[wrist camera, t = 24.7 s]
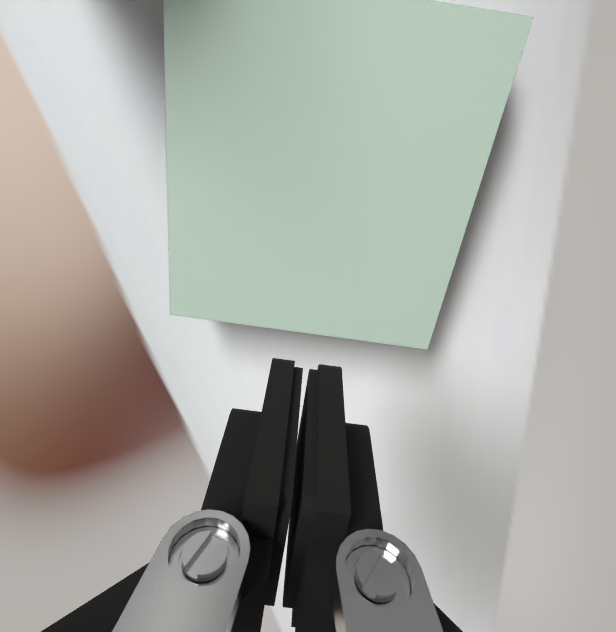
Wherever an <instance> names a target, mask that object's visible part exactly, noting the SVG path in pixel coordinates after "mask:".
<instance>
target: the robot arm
mask: <svg viewBox="0 0 616 632" xmlns="http://www.w3.org/2000/svg"><path fill="white" fill-rule="evenodd" d="M294 363H295V361H291V360H283V359H276V358H273V359H272V364H271V369H270V374H269V379H268V384H267V389H266V394H265V399H264V404H263V409H262V412H257V411H249V410H241V409H234V408H233V409H232V410H231V413H230V416H229V419H228V422H227V426H226V429H225V432H224V436H223V439H222V442H221V446H220V449H219V452H218V456H217V459H216V462H215V466H214V469H213V472H212V475H211V479H210V482H209V485H208V489H207V493H206V495H205V499H204V502H203V505H202V509H201V511H196V512H193V513H191V514H189V515H187V516H184V517H182V518H181V519H180V520H178V521H177V522H176V523H175V524H173V525H172V526H171V527H170V529H169V530H168V532H167V533H166V534H165V536H164V537H163V538H162V540H161V542H160V544H159V546H158V548H157V549H156V551H155V553H154V555H153V557H152V559H151V561H150V562H149V563H148V564H146V565H145V566H143V567H142V568H140V569H139V570H137V571H135V572H134V573H132V574H131V575H129V576H128V577H126V578H124V579H123V580H121V581H120V582H118V583H117V584H115V585H114V586H112V587H110V588H109V589H107V590H106V591H104V592H103V593H101V594H99V595H98V596H96V597H95V598H93V599H91V600H90V601H88V602H87V603H85V604H84V605H82V606H80V607H79V608H77V609H76V610H74V611H73V612H71V613H69V614H68V615H66V616H65V617H63V618H62V619H60V620H59V621H57V622H55V623H54V624H52V625H51V626H49V627H48V628H46V629H44V630H43V631H41V632H260V630H261V624H262V617H263V610H264V605H270V606H274V603H275V598H276V592H277V586H278V581H279V575H280V569H281V564H282V558H283V552H284V547H285V541H286V535H287V530H288V524H289V532H288V545H287V557H286V569H285V581H284V593H283V607H287V608H293V609H292V625H291V627H295V632H462V631H461V630H460V629H459V628H458V627H457V626H456V625H455V624H454V623H453V622H452V621H451V620H450V619H449V618H448V617H447V616H446V615H445V614H444V613H443V612H442V611H441V610H440V609H439V608H438V607H437V606H436V605H435V604H434V603H433V600H432V598H431V595H430V592H429V589H428V586H427V583H426V580H425V577H424V575H423V572H422V569H421V567H420V565H419V563H418V561H417V559H416V557H415V555H414V554H413V552H412V551H411V550H410V549H409V548H408V547H407V545H406V544H405V543H403V542H402V541H401V540H399V539H398V538H397V537H395V536H394V535H391V534H389V533H387V532H384V531H383V525H382V518H381V511H380V504H379V496H378V489H377V482H376V474H375V467H374V460H373V453H372V445H371V438H370V432H369V428H368V426H366V425H358V424H350V423H345V412H344V397H343V381H342V368H341V367H336V366H328V365H321V364H319V366H318V370H313V369H310V370H309V374H308V380H307V386H306V392H305V398H304V404H303V410H302V416H301V422H300V428H299V434H298V421H299V409H300V396H301V384H302V371H303V368H298V367H294ZM297 434H298V440H297ZM289 518H290V520H289Z"/></svg>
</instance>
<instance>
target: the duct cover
mask: <svg viewBox="0 0 616 632" xmlns="http://www.w3.org/2000/svg"><path fill="white" fill-rule="evenodd" d="M532 20H533V17H531V16H525V15H519V14H513V13H506V12H500V11H494V10H488V9H482V8H476V7H470V6H464V5H457V4H451V3H445V2H439V1H433V0H163V21H164V67H165V113H166V159H167V204H168V250H169V296H170V315H176V316H183V317H191V318H198V319H206V320H213V321H220V322H228V323H235V324H242V325H250V326H257V327H265V328H272V329H279V330H287V331H294V332H302V333H309V334H316V335H324V336H331V337H338V338H346V339H353V340H361V341H368V342H375V343H383V344H390V345H397V346H405V347H412V348H420V349H428V346H429V343H430V340H431V337H432V334H433V330H434V327H435V324H436V321H437V318H438V315H439V312H440V309H441V305H442V302H443V299H444V296H445V293H446V290H447V287H448V283H449V280H450V277H451V274H452V271H453V268H454V265H455V262H456V258H457V255H458V252H459V249H460V246H461V243H462V240H463V236H464V233H465V230H466V227H467V224H468V221H469V218H470V214H471V211H472V208H473V205H474V202H475V199H476V196H477V193H478V189H479V186H480V183H481V180H482V177H483V174H484V171H485V167H486V164H487V161H488V158H489V155H490V152H491V149H492V146H493V142H494V139H495V136H496V133H497V130H498V127H499V124H500V120H501V117H502V114H503V111H504V108H505V105H506V102H507V98H508V95H509V92H510V89H511V86H512V83H513V80H514V77H515V73H516V70H517V67H518V64H519V61H520V58H521V55H522V51H523V48H524V45H525V42H526V39H527V36H528V33H529V30H530V26H531V23H532Z"/></svg>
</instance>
